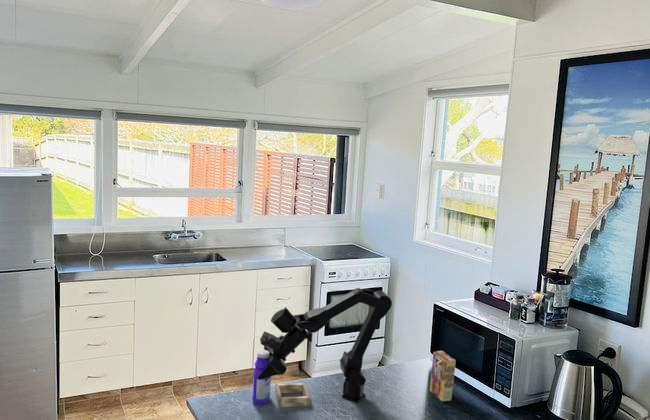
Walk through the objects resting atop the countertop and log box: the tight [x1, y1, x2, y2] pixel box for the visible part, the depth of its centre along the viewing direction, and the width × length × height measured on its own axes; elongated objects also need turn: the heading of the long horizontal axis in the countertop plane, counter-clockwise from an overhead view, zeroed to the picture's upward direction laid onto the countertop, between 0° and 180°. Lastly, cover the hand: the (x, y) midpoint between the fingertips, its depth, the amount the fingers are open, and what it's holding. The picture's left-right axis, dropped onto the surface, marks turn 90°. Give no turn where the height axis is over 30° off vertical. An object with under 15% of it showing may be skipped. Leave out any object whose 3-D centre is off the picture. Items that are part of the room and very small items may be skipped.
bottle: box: [251, 349, 272, 405], centre depth 189 cm, size 7×6×17 cm
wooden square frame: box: [274, 382, 311, 408], centre depth 192 cm, size 11×11×3 cm
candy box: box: [429, 350, 457, 402], centre depth 200 cm, size 9×4×15 cm, turn 20°
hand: (257, 372), depth 188 cm, fingers open, 9 cm apart
